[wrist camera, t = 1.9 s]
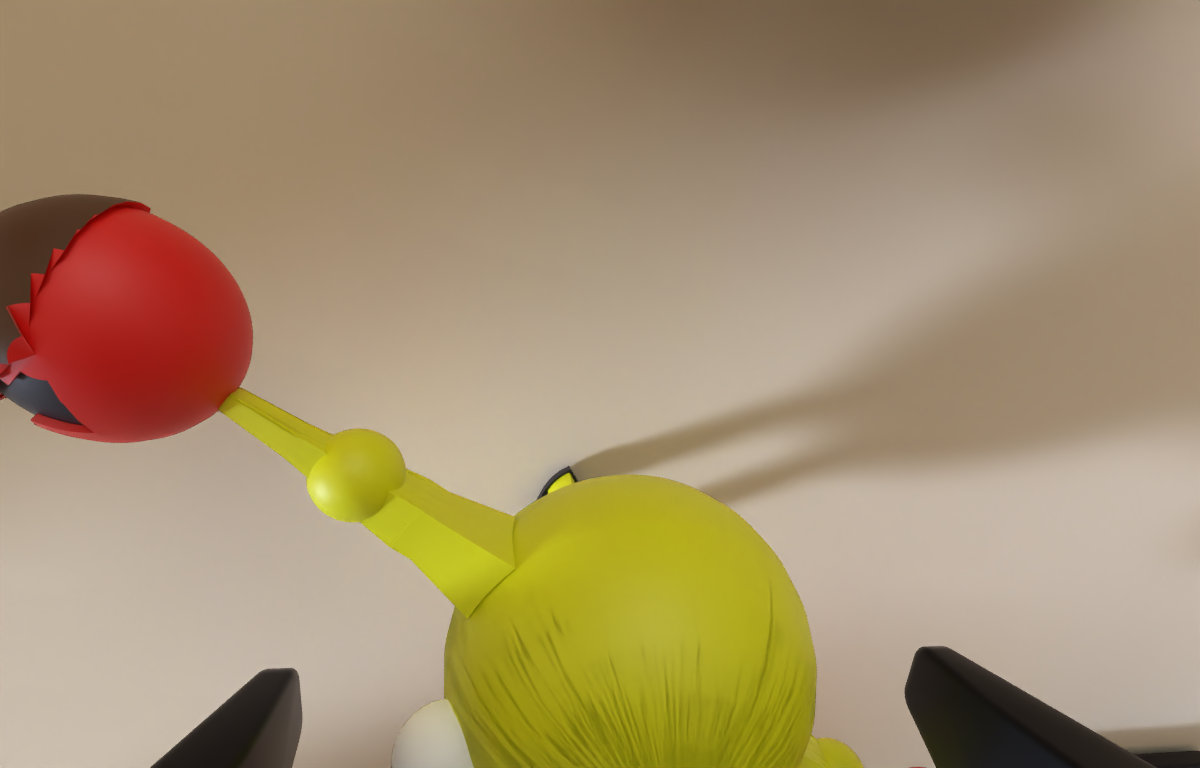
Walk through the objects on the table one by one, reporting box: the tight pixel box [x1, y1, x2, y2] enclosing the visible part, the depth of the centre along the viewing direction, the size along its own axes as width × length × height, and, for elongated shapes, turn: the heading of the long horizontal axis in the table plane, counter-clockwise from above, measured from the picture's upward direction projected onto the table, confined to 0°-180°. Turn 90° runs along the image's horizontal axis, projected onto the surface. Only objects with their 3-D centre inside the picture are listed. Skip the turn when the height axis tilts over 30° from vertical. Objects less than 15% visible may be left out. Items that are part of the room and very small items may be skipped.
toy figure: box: [0, 194, 925, 768], centre depth 10 cm, size 18×6×7 cm, turn 48°
